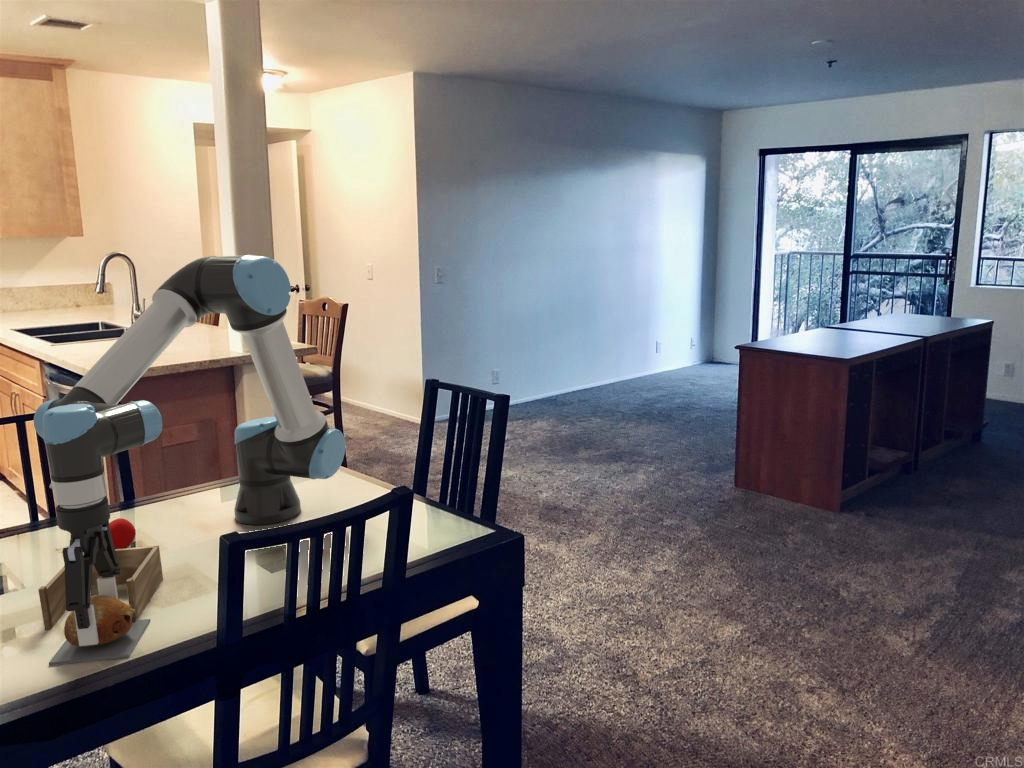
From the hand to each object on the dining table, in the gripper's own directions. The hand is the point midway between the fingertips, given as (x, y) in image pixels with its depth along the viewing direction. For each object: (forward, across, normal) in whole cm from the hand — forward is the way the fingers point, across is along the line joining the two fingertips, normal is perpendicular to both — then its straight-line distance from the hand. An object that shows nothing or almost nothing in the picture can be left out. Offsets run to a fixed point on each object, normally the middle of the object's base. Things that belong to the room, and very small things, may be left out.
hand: (100, 628), depth 133 cm
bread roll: (+1, 0, 0) cm, 1 cm away
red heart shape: (+3, -32, -8) cm, 33 cm away
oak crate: (+3, -15, -4) cm, 16 cm away
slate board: (+3, 0, 0) cm, 3 cm away
